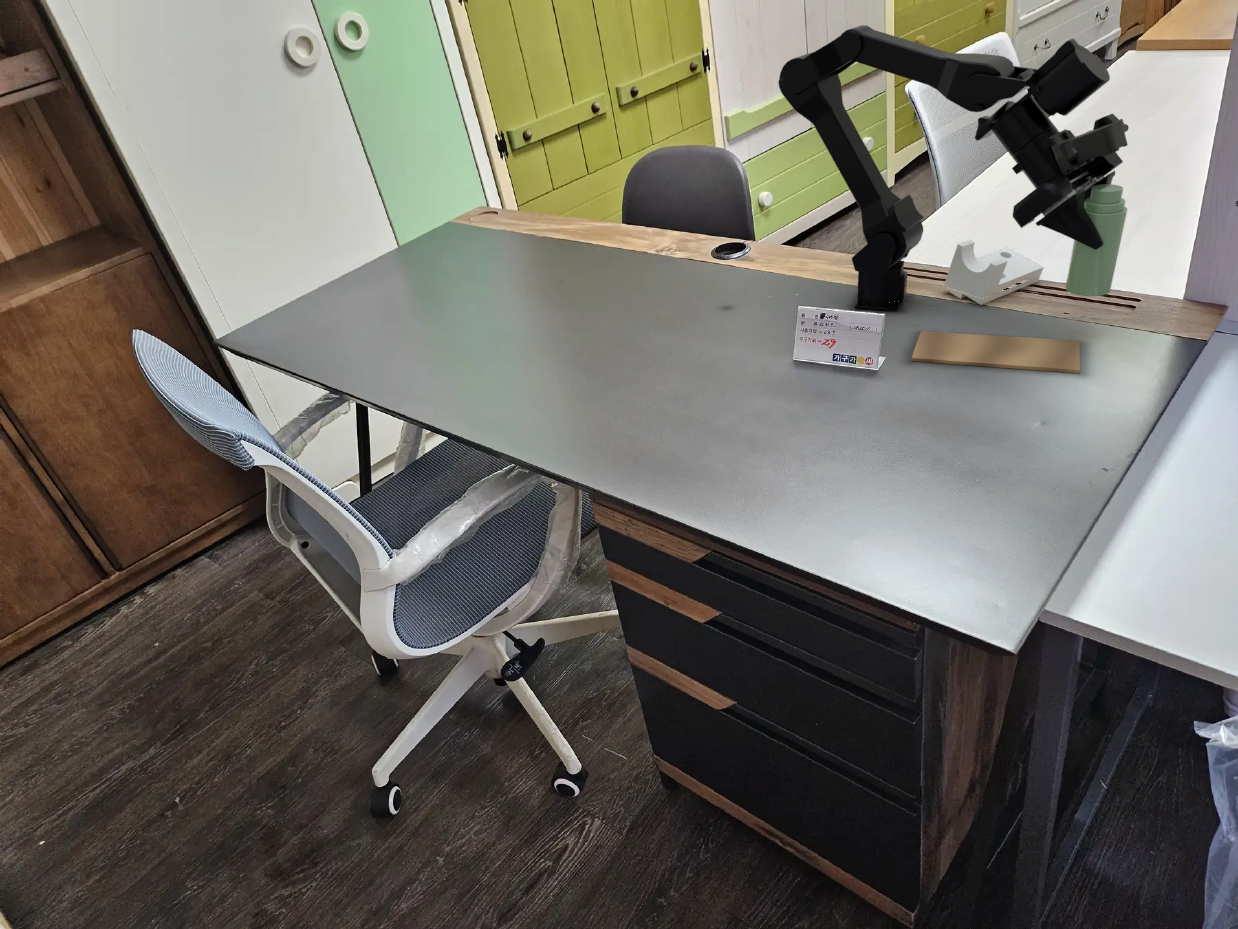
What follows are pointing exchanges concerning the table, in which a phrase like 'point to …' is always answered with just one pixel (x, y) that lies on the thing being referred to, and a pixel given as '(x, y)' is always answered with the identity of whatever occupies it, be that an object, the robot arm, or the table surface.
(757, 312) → the table surface
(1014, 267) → the bracket
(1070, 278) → the bottle
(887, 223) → the robot arm
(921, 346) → the cork pad
